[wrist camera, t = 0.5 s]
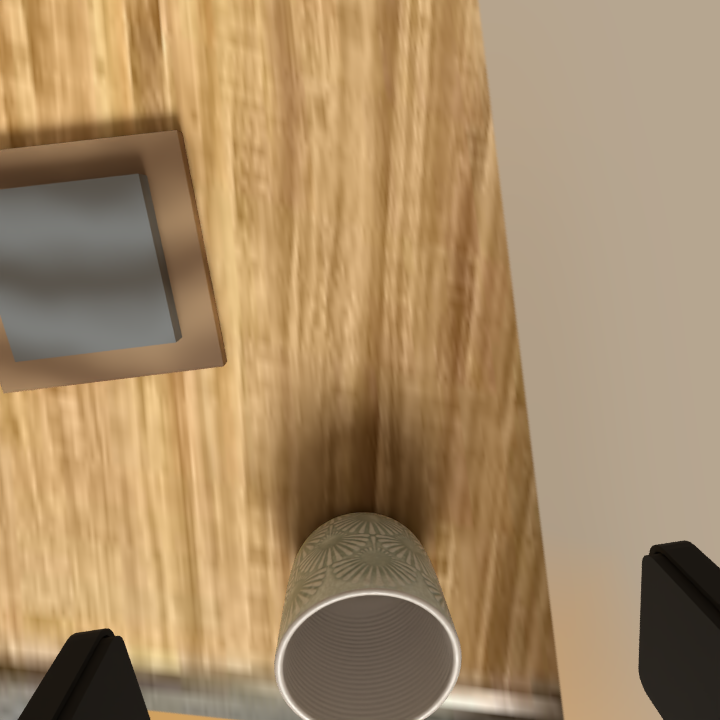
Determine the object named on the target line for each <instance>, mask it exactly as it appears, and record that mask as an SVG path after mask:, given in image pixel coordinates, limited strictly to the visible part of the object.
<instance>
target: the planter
mask: <svg viewBox="0 0 720 720" xmlns="http://www.w3.org/2000/svg"><path fill="white" fill-rule="evenodd" d="M274 664H275V677H276V682H277V685H278V688H279V690H280V693H281V695H282V697H283V698H284V700H285V701H286V703H287V704H288V705H289V707H290V708H291V709H292V710H293V711H294V712H295V713H296V714H297V715H298V716H300V717H301V718H302V719H303V720H424V719H425V718H426V717H428V716H429V715H431V714H432V713H433V712H434V711H435V710H437V709H438V708H439V707H440V706H441V705H442V704H443V702H444V701H445V700H446V699H447V697H448V696H449V694H450V693H451V691H452V690H453V688H454V686H455V684H456V681H457V679H458V676H459V672H460V668H461V647H460V642H459V639H458V636H457V633H456V630H455V627H454V624H453V621H452V618H451V615H450V612H449V609H448V607H447V604H446V601H445V598H444V595H443V592H442V589H441V586H440V584H439V581H438V578H437V576H436V573H435V571H434V568H433V566H432V564H431V561H430V559H429V557H428V555H427V553H426V551H425V549H424V548H423V546H422V544H421V543H420V541H419V540H418V539H417V538H416V536H415V535H414V534H413V533H412V532H411V531H410V530H409V529H408V528H407V527H405V526H404V525H402V524H401V523H399V522H398V521H396V520H394V519H392V518H390V517H387V516H384V515H381V514H376V513H368V512H357V513H350V514H345V515H341V516H338V517H336V518H333V519H331V520H329V521H327V522H325V523H324V524H322V525H321V526H320V527H318V528H317V529H316V530H315V531H314V532H313V533H312V534H311V535H310V536H309V537H308V538H307V539H306V540H305V542H304V543H303V545H302V546H301V548H300V550H299V552H298V554H297V556H296V558H295V561H294V564H293V567H292V570H291V574H290V578H289V582H288V586H287V591H286V596H285V601H284V607H283V613H282V619H281V625H280V631H279V637H278V643H277V649H276V655H275V663H274Z"/></svg>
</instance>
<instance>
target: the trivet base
mask: <svg viewBox="0 0 720 720" xmlns="http://www.w3.org/2000/svg"><path fill="white" fill-rule="evenodd" d="M226 362H227V360H226V355H225V349H224V344H223V339H222V334H221V329H220V324H219V319H218V314H217V309H216V304H215V298H214V293H213V288H212V283H211V278H210V273H209V268H208V263H207V258H206V253H205V247H204V242H203V237H202V232H201V227H200V222H199V217H198V212H197V207H196V201H195V196H194V191H193V186H192V181H191V176H190V171H189V166H188V161H187V156H186V150H185V145H184V140H183V135H182V133H181V132H179V131H178V130H172V131H163V132H154V133H145V134H136V135H128V136H119V137H110V138H101V139H92V140H83V141H74V142H65V143H56V144H48V145H39V146H30V147H21V148H12V149H3V150H0V384H1V387H2V390H3V393H11V392H19V391H27V390H35V389H43V388H51V387H59V386H67V385H76V384H84V383H92V382H100V381H108V380H116V379H124V378H132V377H140V376H149V375H157V374H165V373H173V372H181V371H189V370H197V369H205V368H213V367H222V366H224V365H225V364H226Z"/></svg>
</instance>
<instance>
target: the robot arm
mask: <svg viewBox="0 0 720 720" xmlns="http://www.w3.org/2000/svg"><path fill="white" fill-rule="evenodd" d="M639 641H640V642H639V676H640V680H641V683H642V685H643V688H644V690H645V692H646V694H647V695H648V697H649V698H650V700H651V701H652V703H653V704H654V706H655V708H656V709H657V710H658V712H659V714H660V715H661V717H662V718H663V720H720V568H719V567H718V566H717V565H716V564H715V563H713V562H712V561H711V560H710V559H709V558H708V557H707V556H706V555H704V553H702V552H701V551H700V550H699V549H698V548H697V547H696V546H695V545H693V544H692V543H691V542H688V541H678V542H672V543H665V544H659V545H654V546H652V547H651V549H650V553H649V555H646V556H644V557H643V560H642V581H641V610H640V639H639ZM18 720H150V717H149V714H148V711H147V708H146V705H145V702H144V699H143V696H142V693H141V690H140V687H139V684H138V682H137V679H136V676H135V673H134V670H133V667H132V664H131V661H130V658H129V655H128V652H127V649H126V646H125V643H124V641H123V639H122V637H120V636H114V634H113V632H112V631H111V630H110V629H99V630H93V631H86V632H80V633H75V634H73V635H71V636H70V637H69V639H68V640H67V641H66V643H65V644H64V646H63V648H62V649H61V651H60V652H59V654H58V656H57V657H56V659H55V660H54V662H53V664H52V665H51V667H50V669H49V670H48V672H47V673H46V675H45V677H44V678H43V680H42V681H41V683H40V685H39V686H38V688H37V689H36V691H35V693H34V694H33V696H32V698H31V699H30V701H29V702H28V704H27V706H26V707H25V709H24V710H23V712H22V714H21V715H20V717H19V719H18Z"/></svg>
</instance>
